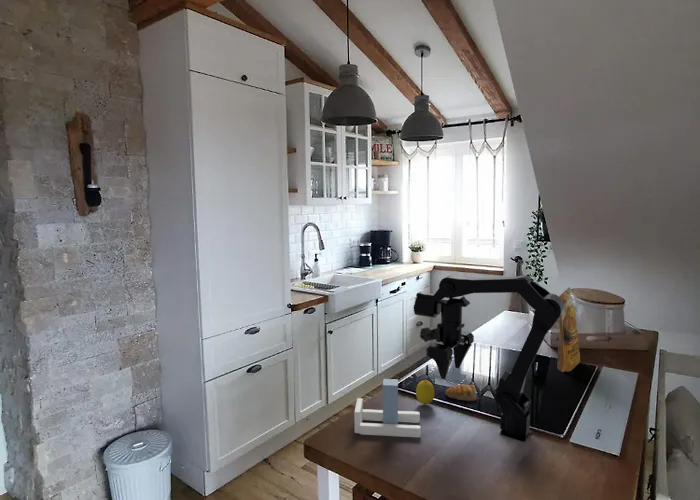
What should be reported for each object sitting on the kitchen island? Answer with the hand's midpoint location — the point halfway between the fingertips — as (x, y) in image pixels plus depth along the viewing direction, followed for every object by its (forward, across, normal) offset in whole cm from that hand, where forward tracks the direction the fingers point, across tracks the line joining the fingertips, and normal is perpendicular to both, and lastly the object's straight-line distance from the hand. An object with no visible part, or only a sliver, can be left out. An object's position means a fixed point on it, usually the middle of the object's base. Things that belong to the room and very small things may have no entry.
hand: (450, 373), depth 127 cm
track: (+13, +15, -10) cm, 22 cm away
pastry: (+14, -14, -2) cm, 20 cm away
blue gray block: (+13, +15, -10) cm, 22 cm away
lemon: (+13, -2, -9) cm, 16 cm away
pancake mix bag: (+13, -60, +18) cm, 64 cm away
